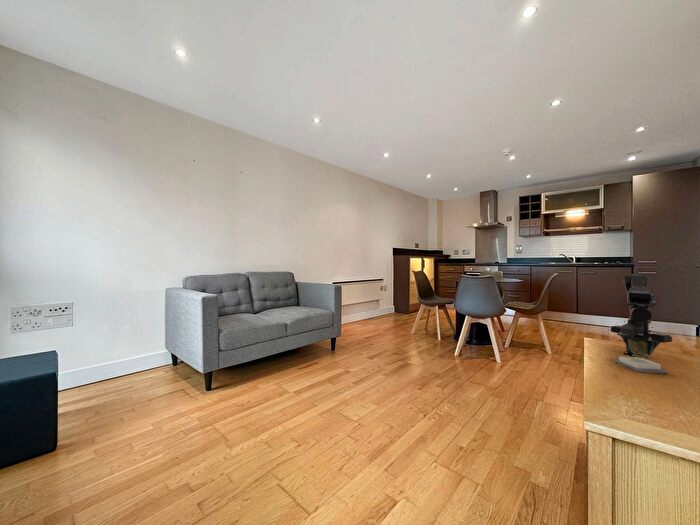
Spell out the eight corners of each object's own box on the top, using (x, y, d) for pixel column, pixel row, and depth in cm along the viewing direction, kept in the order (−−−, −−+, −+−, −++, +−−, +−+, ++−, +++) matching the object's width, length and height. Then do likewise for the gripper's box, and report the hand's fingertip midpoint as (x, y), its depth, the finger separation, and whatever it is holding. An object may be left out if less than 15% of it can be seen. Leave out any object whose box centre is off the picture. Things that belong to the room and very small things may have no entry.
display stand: (613, 362, 127) (613, 355, 127) (639, 363, 126) (639, 356, 126) (638, 372, 115) (638, 364, 115) (667, 373, 114) (667, 366, 114)
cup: (640, 354, 124) (640, 337, 124) (656, 360, 117) (656, 342, 117) (622, 354, 125) (622, 336, 125) (637, 359, 117) (637, 341, 117)
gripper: (602, 314, 128) (601, 347, 128) (654, 323, 110) (654, 361, 110) (619, 313, 131) (619, 346, 131) (673, 322, 112) (673, 359, 112)
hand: (639, 352), depth 121 cm, fingers closed on cup, 6 cm apart
